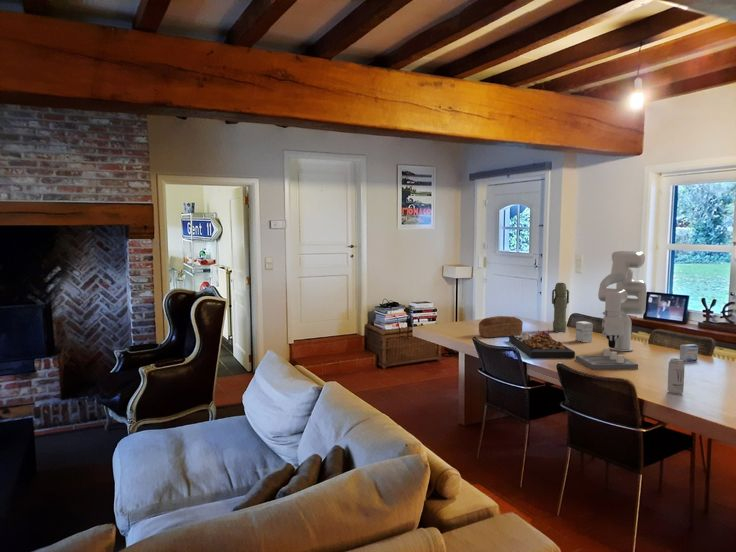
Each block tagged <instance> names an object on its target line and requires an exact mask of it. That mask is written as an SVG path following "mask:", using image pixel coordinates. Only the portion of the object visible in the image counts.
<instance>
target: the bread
mask: <svg viewBox="0 0 736 552" xmlns="http://www.w3.org/2000/svg"><path fill="white" fill-rule="evenodd" d="M523 323H524V322H523V320H521V319H520V318H519V317H515V316H505V315H497V316H496V315H495V316H489V317H486V318H484V319H481V321H479V323H478V334H479V335H480V336H481V337H483V338H497V337H498V338H499V337H501V338H502V337H503V338H504V337H509V336H512V335H521V333H523V325H524V324H523Z"/></svg>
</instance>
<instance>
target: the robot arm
mask: <svg viewBox="0 0 736 552" xmlns="http://www.w3.org/2000/svg"><path fill="white" fill-rule="evenodd" d="M645 258H646V256H645V253H644V252H643V251H638V250H637V251H635V250H633V251H631V250H630V251H629V250H619V251H614V252H612V254H611V261H612V264H611V270H610V273H609V274H608V275H606V276H605V277H604V278H603V279H602V280H601V282H600V283H599V286H598V287H599V289H598V291H597V292H598V294H597V296H598V297H597V298H598V300H599V301H600V302H605V304H604V306H605V308H604V311H603V312H602V315H604V316H603V318H602V322H601V323H602V324H601V333H602V334H601V337H602V338H606V339H607V340H608V345H607V346H608V347H609V349H610V350H613V351H615V352H623V351H629V352H632V351H634V348H633V347H632V346H631V341H632V340H631V339H632V319H631V318H630V316H629V315H636V316H638V315H639V316H641V315H644V314H645V313H646V307H647V306H646V305H647V285H646V284H647V283H646V282H645V281H643V280H642V279H641V280H640V279H638V280H635V279H633V270H632V268H634V269H640V268H641V267H642V266H643V265H644V263H645V261H646V259H645ZM613 284H616V287H615V288H609V286H610V285H613ZM631 297H634V298H631ZM635 297H636V298H635Z"/></svg>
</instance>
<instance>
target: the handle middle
mask: <svg viewBox="0 0 736 552" xmlns="http://www.w3.org/2000/svg"><path fill="white" fill-rule="evenodd" d="M617 355H618V351H610V359H611V360H617Z"/></svg>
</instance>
